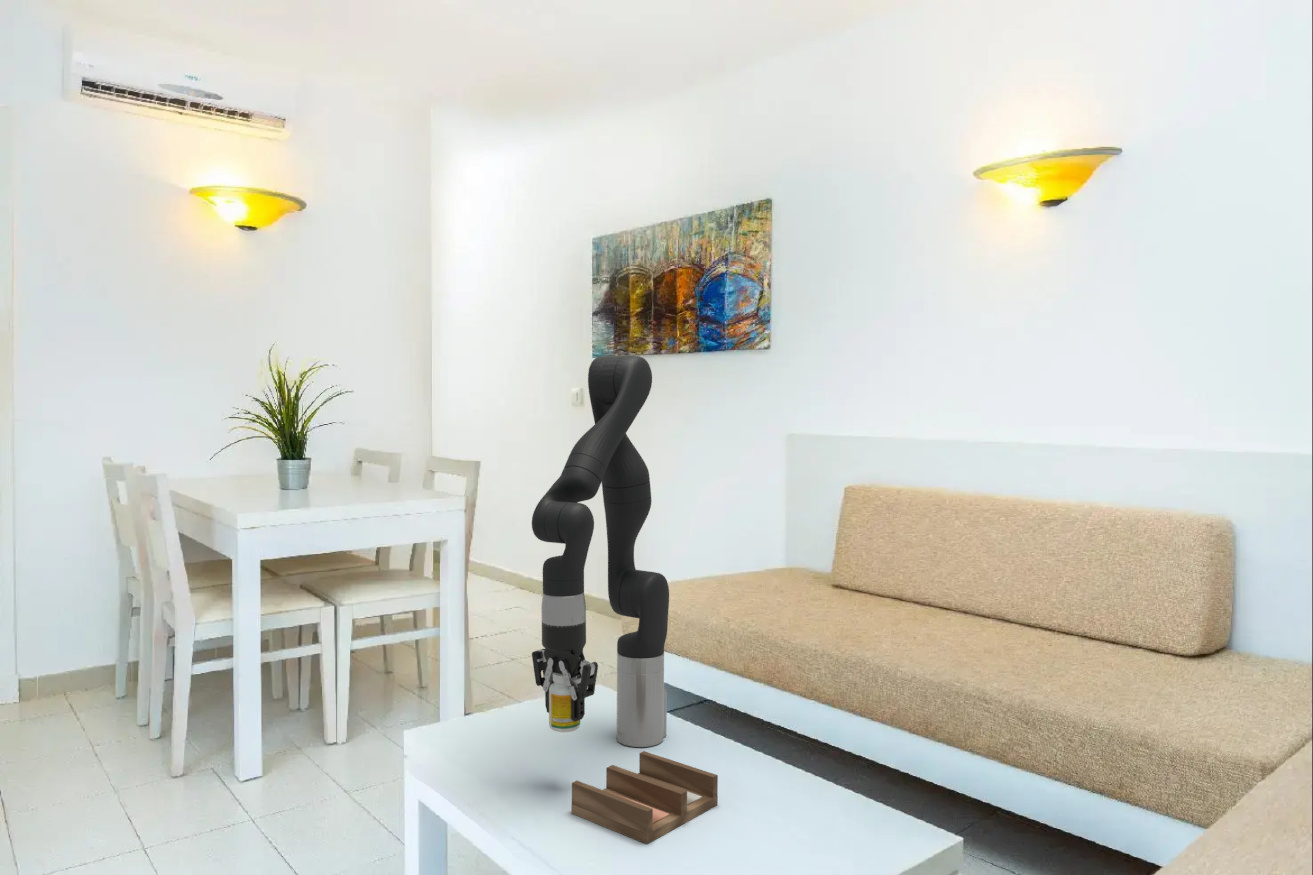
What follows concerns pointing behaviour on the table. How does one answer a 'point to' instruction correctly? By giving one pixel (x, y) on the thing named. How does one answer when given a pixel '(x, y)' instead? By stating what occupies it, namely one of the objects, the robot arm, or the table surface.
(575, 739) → the table surface
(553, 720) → the supplement bottle
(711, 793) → the brown shelf rack
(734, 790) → the table surface
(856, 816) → the table surface
